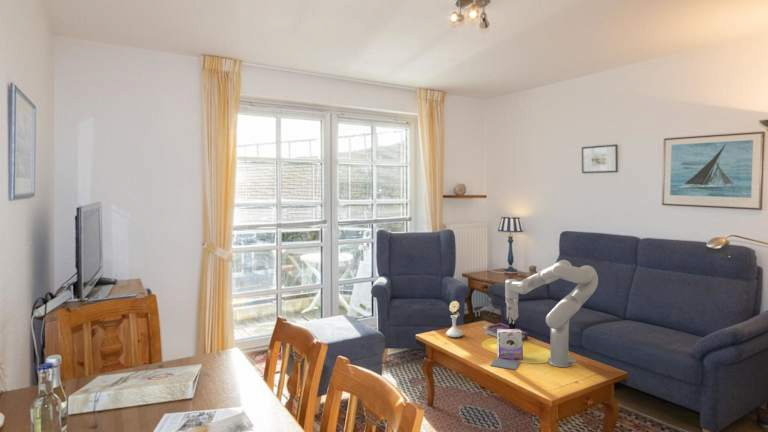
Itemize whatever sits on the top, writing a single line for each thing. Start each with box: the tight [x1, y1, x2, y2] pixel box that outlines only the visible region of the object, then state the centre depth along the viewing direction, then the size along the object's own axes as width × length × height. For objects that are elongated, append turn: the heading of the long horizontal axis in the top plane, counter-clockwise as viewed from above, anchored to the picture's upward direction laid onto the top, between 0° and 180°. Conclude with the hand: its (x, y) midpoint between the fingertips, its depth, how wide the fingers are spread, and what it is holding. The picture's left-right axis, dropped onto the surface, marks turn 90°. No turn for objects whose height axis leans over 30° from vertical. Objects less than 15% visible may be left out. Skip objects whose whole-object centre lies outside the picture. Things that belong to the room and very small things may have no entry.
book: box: [482, 322, 529, 341], centre depth 299 cm, size 25×16×5 cm, turn 27°
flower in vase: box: [445, 300, 464, 338], centre depth 301 cm, size 13×11×25 cm
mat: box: [489, 357, 521, 371], centre depth 251 cm, size 14×12×1 cm
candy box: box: [496, 328, 524, 360], centre depth 261 cm, size 14×6×16 cm, turn 84°
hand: (512, 330), depth 266 cm, fingers closed
